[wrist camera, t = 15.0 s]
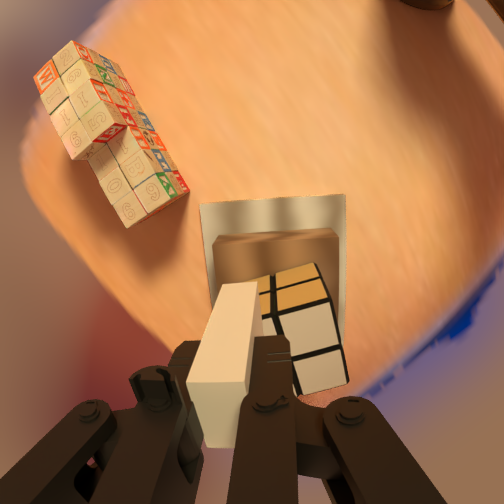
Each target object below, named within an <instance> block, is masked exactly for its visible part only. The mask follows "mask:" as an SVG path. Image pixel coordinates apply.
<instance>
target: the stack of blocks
mask: <svg viewBox="0 0 504 504" xmlns="http://www.w3.org/2000/svg"><path fill="white" fill-rule="evenodd" d="M33 78H34V80H35V83H36V85H37V87H38V90H39V92H40V95H41V99H42V101H43V103H44V106H45V108H46V110H47V112H48V114H49V115H50V119H51V121H52V123H53V125H54V127H55V129H56V131H57V133H58V135H59V136H60V137H61V140H62V142H63V144H64V146H65V148H66V150H67V152H68V153H69V155H70V157H71V159H72V160H87V161H88V163H89V164H90V166H91V168H92V170H93V172H94V174H95V175H96V177H97V179H98V181H99V184H100V186H101V188H102V189H103V191H104V193H105V195H106V196H107V198H108V200H109V202H110V203H111V205H113V207H114V209H115V211H116V212H117V214H118V216H119V217H120V219H121V221H122V222H123V224H124V226H125V227H126V228H130V227H132V226H134V225H136V224H138V223H140V222H142V221H144V220H146V219H147V218H149V217H151V216H153V215H154V214H156V213H157V212H159V211H160V210H162V209H163V208H165V207H166V206H168V205H169V204H171V203H173V202H174V201H176V200H178V199H179V198H181V197H182V196H184V195H185V194H187V193H188V192H189V191H190V190H189V188H188V186H187V185H186V183H185V181H184V180H183V178H182V176H181V175H180V173H179V172H178V168H177V167H176V165H175V163H174V162H173V160H172V158H171V157H170V155H169V153H168V152H167V150H166V148H165V146H164V144H163V143H162V141H161V139H160V137H159V136H158V134H157V133H156V132H155V130H154V128H153V126H152V125H151V123H150V121H149V119H148V118H147V116H146V115H145V113H144V111H143V109H142V107H141V106H140V104H139V102H138V100H137V99H136V97H135V94H134V92H133V90H132V89H131V87H130V85H129V83H128V82H127V80H126V78H125V76H124V74H123V72H122V70H121V68H120V67H119V65H118V64H117V63H114V62H113V61H111V60H109V59H107V58H105V57H103V56H101V55H100V54H98V53H97V52H95V51H93V50H91V49H89V48H87V47H84V46H82V45H81V44H79V43H77V42H75V41H70V42H69V43H68V44H67V45H66V46H65V47H63V48H62V49H61V50H60V51H59V52H58V53H57V54H56V55H54V56H53V59H51V60H50V61H48V62H47V63H46V65H44V66H43V68H41V69H40V70H39V72H38V73H37V74H36V75H35V76H34V77H33Z"/></svg>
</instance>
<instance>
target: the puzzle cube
mask: <svg viewBox="0 0 504 504" xmlns="http://www.w3.org/2000/svg"><path fill="white" fill-rule="evenodd" d="M256 281H257V283H258V291H259V299H260V308H261V316H262V324H263V333H264V336H271V335H284V336H285V337H286V338H287V339H288V340H289V342H290V349H291V363H292V378H293V391H294V394H295V396H296V397H298V396H299V395H300V394H301V395H308V394H312V393H316V392H320V391H324V390H328V389H332V388H335V387H339V386H342V385H346V384H347V383H348V382H349V376H348V371H347V365H346V360H345V355H344V351H343V346H342V343H341V336H340V332H339V327H338V322H337V318H336V313H335V309H334V305H333V300H332V298H331V295H330V293H329V291H328V288H327V286H326V284H325V281H324V280H323V277H322V275H321V272H320V270H319V268H318V266H317V264H316V263H314V262H313V263H309V264H306V265H302V266H299V267H295V268H292V269H288V270H285V271H281V272H278V273H275V275H274V276H271V275H267V276H263V277H260V278H256V279H253V280H249V281H246V282H256ZM242 283H244V282H242Z"/></svg>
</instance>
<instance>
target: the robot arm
mask: <svg viewBox="0 0 504 504" xmlns="http://www.w3.org/2000/svg"><path fill="white" fill-rule="evenodd" d="M400 1H402V2H404V3H406V4H409V5H411V6H414V7H417V8H420V9H425V10H438V9H442V8H444V7H446V6H447V5H448V4H450V3H451V2H452V1H454V0H400ZM486 1H487V2H488V4H489V5H490V6H491V8H493V10H494V11H495V13H496V14H497V15H498V16H499V18H500V19H501V21H502V22H503V23H504V0H486ZM129 381H130V384H131V386H132V389H133V392H134V394H135V396H136V399H137V401H138V403H137V405H136V406H135V408H131V409H125V410H117V411H111V409H110V407H109V405H108V403H106V402H104V401H103V400H97V399H94V400H87V401H85V402H82V403H80V404H79V405H77V406H76V407H74V408H73V409H72V410H71V411H70V412H69V413H68V414H67V415H66V416H65V417H64V418H63V419H62V420H61V421H60V422H59V423H58V424H57V425H56V426H55V427H54V428H53V429H52V430H50V431H49V432H48V433H47V434H46V435H45V436H44V437H43V438H42V439H41V440H40V441H39V442H38V443H37V444H36V445H35V446H34V447H33V448H32V449H31V450H30V451H29V452H28V453H27V454H26V455H25V456H23V457H22V458H21V459H20V460H19V461H18V463H16V464H15V465H14V466H13V467H12V468H11V469H10V470H9V471H8V472H7V473H6V474H5V475H4V476H3V477H2V478H1V479H0V504H194V503H195V499H196V494H197V490H198V485H199V480H200V476H201V471H202V467H203V462H204V457H203V453H202V450H201V445H202V441H203V438H204V440H205V443H206V446H207V447H208V448H235V449H234V455H233V462H232V469H231V476H230V483H229V490H228V496H227V503H226V504H298V475H303V476H309V477H314V478H321V479H322V482H323V484H324V487H325V489H326V491H327V493H328V496H329V498H330V500H331V502H332V504H447V503H446V501H445V500H444V498H443V497H442V496H441V494H440V493H439V492H438V490H437V489H436V487H435V486H434V485H433V483H432V482H431V481H430V479H429V478H428V476H427V475H426V474H425V472H424V471H423V470H422V468H421V467H420V466H419V464H418V463H417V461H416V460H415V459H414V457H413V456H412V455H411V453H410V452H409V451H408V449H407V448H406V446H405V445H404V444H403V442H402V441H401V440H400V438H399V437H398V436H397V434H396V433H395V432H394V430H393V429H392V427H391V426H390V425H389V423H388V422H387V421H386V419H385V418H384V417H383V415H382V414H381V412H380V411H379V410H378V409H377V407H376V406H375V405H374V404H373V403H372V402H371V401H369V400H367V399H364V398H362V397H354V396H349V397H343V398H339V399H337V400H335V401H333V402H331V403H330V404H329V405H328V406H327V407H326V408H320V407H314V406H310V405H307V404H305V403H303V402H301V401H300V400H299V399H297V397H296V396H295V394H294V391H293V378H292V363H291V349H290V342H289V340H288V339H287V338H286V337H285V336H284V335H271V336H264V333H263V324H262V316H261V308H260V299H259V291H258V283H257V281H256V282H244V283H232V284H222V287H221V290H220V292H219V295H218V298H217V300H216V303H215V305H214V308H213V311H212V313H211V316H210V319H209V321H208V324H207V327H206V329H205V332H204V335H203V337H202V340H199V341H184V342H183V343H182V344H181V345H179V346H178V347H177V348H176V349H175V351H174V353H173V355H172V357H171V360H170V362H169V364H168V367H166V366H158V365H157V366H149V367H146V368H143V369H140V370H138V371H137V372H135V373H133V374H132V376H131V377H130V378H129ZM91 457H92V458H93V459H94V461H95V462H94V463H93V464H92V465H87V462H88V460H89V459H90V458H91Z"/></svg>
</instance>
